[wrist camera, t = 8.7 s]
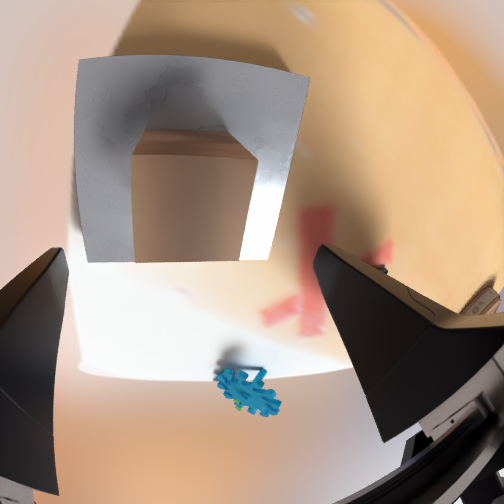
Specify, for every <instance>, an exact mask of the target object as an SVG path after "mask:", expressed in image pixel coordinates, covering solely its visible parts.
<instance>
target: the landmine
mask: <svg viewBox="0 0 504 504" xmlns="http://www.w3.org/2000/svg"><path fill="white" fill-rule="evenodd" d="M500 304H501V299H500V295H499V294H498V293H497V292H496V291H495V290H494V289H493V288H490V287H487V288H485V289H484V290H483V291H481V292H480V293H479V294H478V295H477V296H476V297H475V298H474V299H473V300H472V301H471V302H470V304H469V305H468V306H467V307H466V308H465V309H464V310H463V312H462V313H461V314H460V315H463V316H477V315H485V314H493V313H496V311H497V309H498V308H499V306H500Z"/></svg>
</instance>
